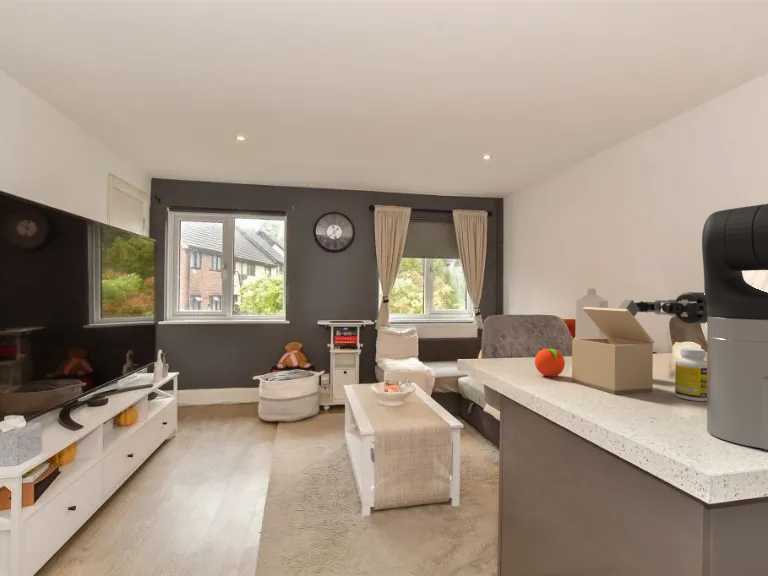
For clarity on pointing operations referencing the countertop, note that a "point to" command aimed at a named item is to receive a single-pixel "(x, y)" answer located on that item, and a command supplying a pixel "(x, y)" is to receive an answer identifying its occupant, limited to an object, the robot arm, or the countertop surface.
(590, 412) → the countertop surface
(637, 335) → the lid
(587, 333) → the milk
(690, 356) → the supplement bottle
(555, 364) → the clementine
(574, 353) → the carton
